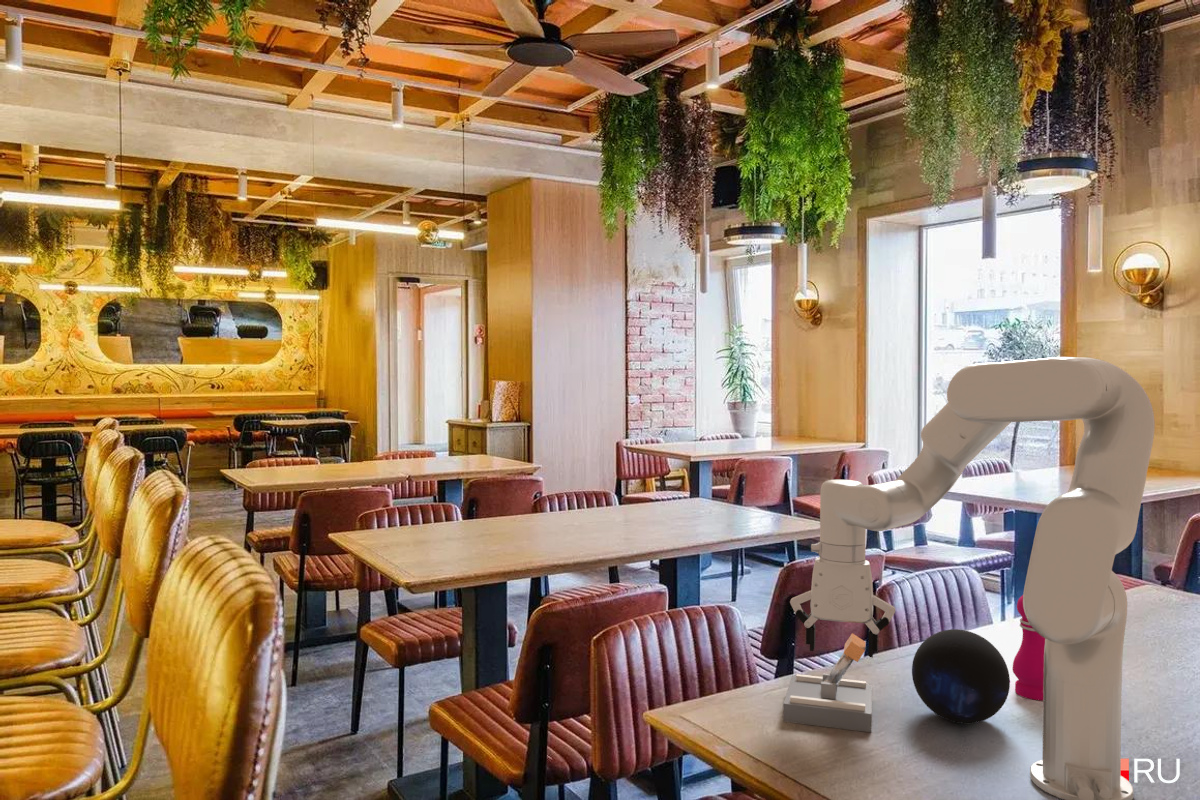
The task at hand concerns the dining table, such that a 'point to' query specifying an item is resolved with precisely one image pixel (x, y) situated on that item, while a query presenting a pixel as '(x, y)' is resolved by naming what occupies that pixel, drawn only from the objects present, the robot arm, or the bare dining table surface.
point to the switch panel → (829, 703)
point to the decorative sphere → (960, 676)
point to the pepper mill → (1029, 660)
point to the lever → (847, 658)
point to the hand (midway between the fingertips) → (841, 651)
